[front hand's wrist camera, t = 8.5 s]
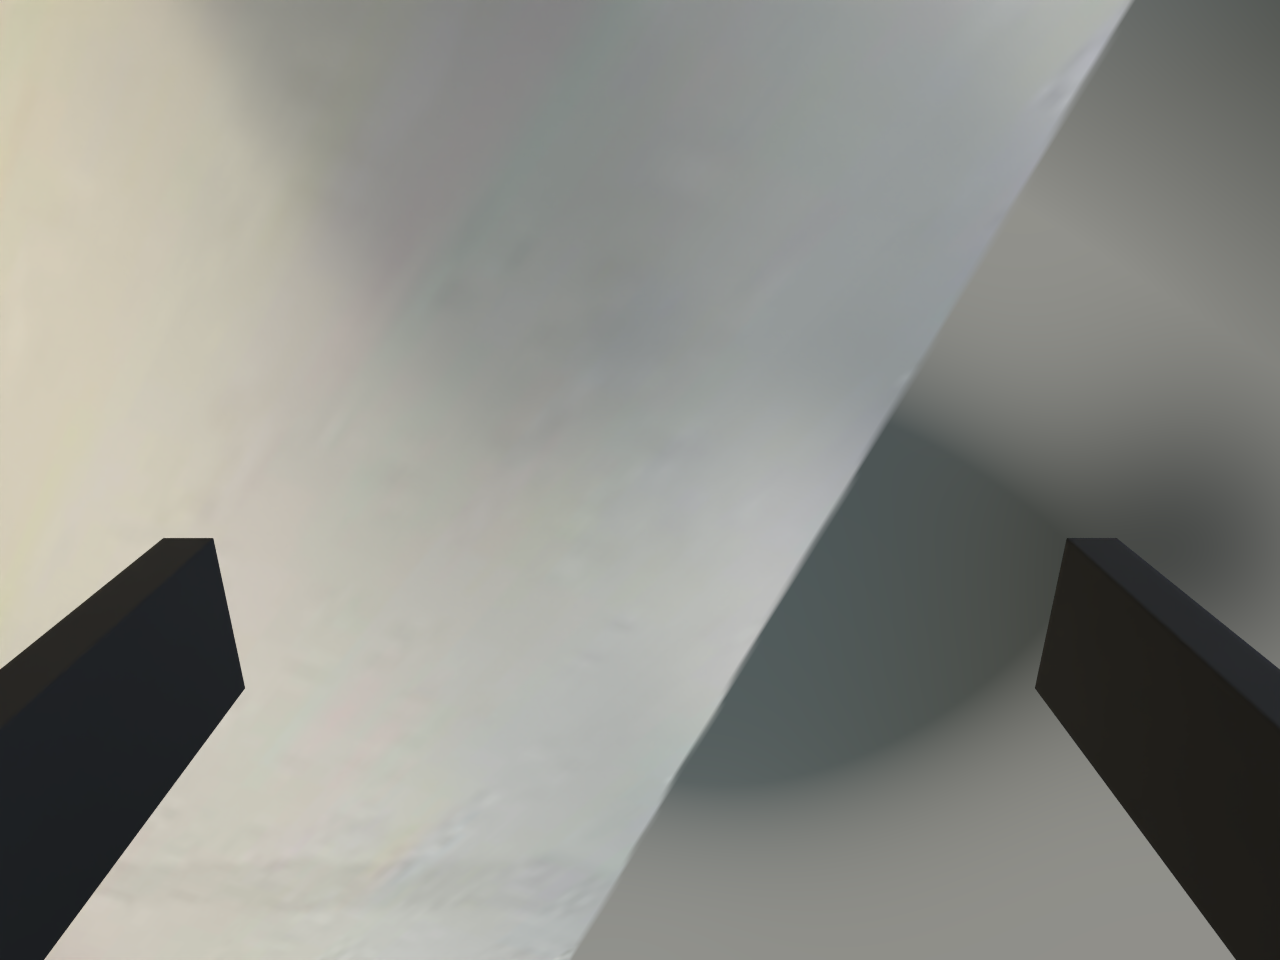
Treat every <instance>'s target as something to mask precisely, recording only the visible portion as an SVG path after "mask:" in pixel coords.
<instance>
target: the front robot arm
mask: <svg viewBox="0 0 1280 960" xmlns="http://www.w3.org/2000/svg"><path fill="white" fill-rule="evenodd" d="M244 689H245V686H244V681H243V676H242V672H241V667H240V662H239V657H238V653H237V648H236V643H235V639H234V634H233V629H232V624H231V620H230V615H229V610H228V606H227V601H226V596H225V591H224V587H223V582H222V577H221V573H220V568H219V563H218V558H217V554H216V549H215V544H214V540H213V538H163V539H162V540H161V541H159V542H158V543H157V544H156V545H154V546H153V547H152V548H151V549H149V550H148V551H147V552H146V553H144V554H143V555H142V556H141V557H139V558H138V559H137V560H136V561H134V562H133V563H132V564H131V565H129V566H128V567H127V568H126V569H125V570H123V571H122V572H121V573H120V574H118V575H117V576H116V577H115V578H113V579H112V580H111V581H110V582H108V583H107V584H106V585H105V586H103V587H102V588H101V589H100V590H98V591H97V592H96V593H95V594H93V595H92V596H91V597H90V598H89V599H87V600H86V601H85V602H84V603H82V604H81V605H80V606H79V607H77V608H76V609H75V610H74V611H72V612H71V613H70V614H69V615H67V616H66V617H65V618H64V619H62V620H61V621H60V622H59V623H57V624H56V625H55V626H54V627H52V628H51V629H50V630H49V631H48V632H46V633H45V634H44V635H43V636H41V637H40V638H39V639H38V640H36V641H35V642H34V643H33V644H31V645H30V646H29V647H28V648H26V649H25V650H24V651H23V652H21V653H20V654H19V655H18V656H16V657H15V658H14V659H13V660H11V661H10V662H9V663H8V664H7V665H5V666H4V667H3V668H2V669H0V960H44V959H45V958H46V956H47V955H48V954H49V952H50V951H51V950H52V948H53V947H54V945H55V944H56V943H57V941H58V940H59V939H60V937H61V936H62V935H63V933H64V932H65V931H66V929H67V928H68V927H69V925H70V924H71V923H72V921H73V920H74V918H75V917H76V916H77V914H78V913H79V912H80V910H81V909H82V908H83V906H84V905H85V904H86V902H87V901H88V900H89V898H90V897H91V895H92V894H93V893H94V891H95V890H96V889H97V887H98V886H99V885H100V883H101V882H102V881H103V879H104V878H105V877H106V875H107V874H108V873H109V871H110V870H111V868H112V867H113V866H114V864H115V863H116V862H117V860H118V859H119V858H120V856H121V855H122V854H123V852H124V851H125V850H126V848H127V847H128V846H129V844H130V843H131V841H132V840H133V839H134V837H135V836H136V835H137V833H138V832H139V831H140V829H141V828H142V827H143V825H144V824H145V823H146V821H147V820H148V818H149V817H150V816H151V814H152V813H153V812H154V810H155V809H156V808H157V806H158V805H159V804H160V802H161V801H162V800H163V798H164V797H165V796H166V794H167V793H168V791H169V790H170V789H171V787H172V786H173V785H174V783H175V782H176V781H177V779H178V778H179V777H180V775H181V774H182V773H183V771H184V770H185V769H186V767H187V766H188V764H189V763H190V762H191V760H192V759H193V758H194V756H195V755H196V754H197V752H198V751H199V750H200V748H201V747H202V746H203V744H204V743H205V742H206V740H207V739H208V737H209V736H210V735H211V733H212V732H213V731H214V729H215V728H216V727H217V725H218V724H219V723H220V721H221V720H222V719H223V717H224V716H225V714H226V713H227V712H228V710H229V709H230V708H231V706H232V705H233V704H234V702H235V701H236V700H237V698H238V697H239V696H240V694H241V693H242V692H243V690H244ZM1035 689H1036V690H1037V692H1038V693H1039V694H1040V696H1041V697H1042V698H1043V700H1044V701H1045V702H1046V704H1047V705H1048V706H1049V708H1050V709H1051V710H1052V712H1053V713H1054V714H1055V716H1056V717H1057V719H1058V720H1059V721H1060V723H1061V724H1062V725H1063V727H1064V728H1065V729H1066V731H1067V732H1068V733H1069V735H1070V736H1071V737H1072V739H1073V740H1074V741H1075V743H1076V744H1077V746H1078V747H1079V748H1080V750H1081V751H1082V752H1083V754H1084V755H1085V756H1086V758H1087V759H1088V760H1089V762H1090V763H1091V764H1092V766H1093V767H1094V768H1095V770H1096V771H1097V773H1098V774H1099V775H1100V777H1101V778H1102V779H1103V781H1104V782H1105V783H1106V785H1107V786H1108V787H1109V789H1110V790H1111V791H1112V793H1113V794H1114V796H1115V797H1116V798H1117V800H1118V801H1119V802H1120V804H1121V805H1122V806H1123V808H1124V809H1125V810H1126V812H1127V813H1128V814H1129V816H1130V817H1131V818H1132V820H1133V821H1134V823H1135V824H1136V825H1137V827H1138V828H1139V829H1140V831H1141V832H1142V833H1143V835H1144V836H1145V837H1146V839H1147V840H1148V841H1149V843H1150V844H1151V846H1152V847H1153V848H1154V850H1155V851H1156V852H1157V854H1158V855H1159V856H1160V858H1161V859H1162V860H1163V862H1164V863H1165V864H1166V866H1167V867H1168V868H1169V870H1170V871H1171V873H1172V874H1173V875H1174V877H1175V878H1176V879H1177V881H1178V882H1179V883H1180V885H1181V886H1182V887H1183V889H1184V890H1185V891H1186V893H1187V894H1188V895H1189V897H1190V898H1191V899H1192V901H1193V902H1194V904H1195V905H1196V906H1197V908H1198V909H1199V910H1200V912H1201V913H1202V914H1203V916H1204V917H1205V918H1206V920H1207V921H1208V923H1209V924H1210V925H1211V927H1212V928H1213V929H1214V931H1215V932H1216V933H1217V935H1218V936H1219V937H1220V939H1221V940H1222V941H1223V943H1224V944H1225V945H1226V947H1227V948H1228V949H1229V951H1230V952H1231V954H1232V955H1233V956H1234V958H1235V959H1236V960H1280V669H1278V668H1277V667H1276V666H1275V665H1273V664H1272V663H1271V662H1270V661H1269V660H1267V659H1266V658H1265V657H1263V656H1262V655H1261V654H1260V653H1259V652H1257V651H1256V650H1255V649H1254V648H1252V647H1251V646H1250V645H1249V644H1247V643H1246V642H1245V641H1244V640H1242V639H1241V638H1240V637H1239V636H1237V635H1236V634H1235V633H1234V632H1232V631H1231V630H1230V629H1229V628H1228V627H1226V626H1225V625H1224V624H1223V623H1221V622H1220V621H1219V620H1218V619H1216V618H1215V617H1214V616H1213V615H1211V614H1210V613H1209V612H1208V611H1206V610H1205V609H1204V608H1203V607H1201V606H1200V605H1199V604H1198V603H1196V602H1195V601H1194V600H1193V599H1191V598H1190V597H1189V596H1188V595H1187V594H1185V593H1184V592H1183V591H1182V590H1180V589H1179V588H1178V587H1177V586H1175V585H1174V584H1173V583H1172V582H1170V581H1169V580H1168V579H1166V578H1165V577H1164V576H1163V575H1162V574H1160V573H1159V572H1158V571H1157V570H1155V569H1154V568H1153V567H1152V566H1150V565H1149V564H1148V563H1147V562H1146V561H1144V560H1143V559H1142V558H1141V557H1139V556H1138V555H1137V554H1136V553H1134V552H1133V551H1132V550H1131V549H1129V548H1128V547H1127V546H1126V545H1124V544H1123V543H1122V542H1121V541H1119V540H1118V539H1117V538H1067V540H1066V544H1065V549H1064V554H1063V559H1062V563H1061V568H1060V573H1059V577H1058V582H1057V587H1056V592H1055V596H1054V601H1053V606H1052V610H1051V615H1050V620H1049V625H1048V629H1047V634H1046V639H1045V643H1044V648H1043V653H1042V657H1041V662H1040V667H1039V672H1038V676H1037V681H1036V686H1035Z"/></svg>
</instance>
